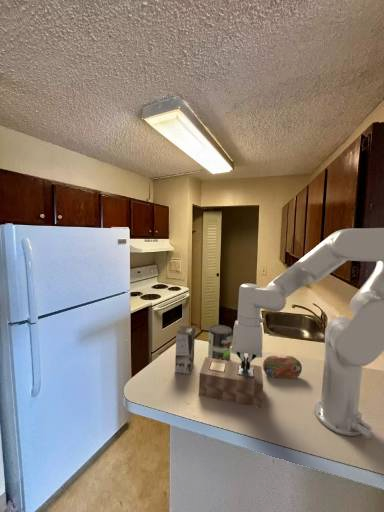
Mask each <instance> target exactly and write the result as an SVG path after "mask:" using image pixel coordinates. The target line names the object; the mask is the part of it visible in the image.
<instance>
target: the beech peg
mask: <svg viewBox="0 0 384 512" xmlns="http://www.w3.org/2000/svg"><path fill="white" fill-rule="evenodd" d="M210 370H211V371H217V372H222V373H225V364H222V363H216V362H212V363H211V367H210Z"/></svg>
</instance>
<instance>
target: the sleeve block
mask: <svg viewBox="0 0 384 512" xmlns="http://www.w3.org/2000/svg"><path fill="white" fill-rule="evenodd" d="M212 362H216V363H222V364H225V373H222V372H217V371H211V370H210V367H211V363H212ZM239 366H241V362H238V361H232V360H230V361H226V360H220V359H214V358H208V356H206V357H204V360H203V362H202V365H201V368H200V371H199V376H198V377H199V378H198V396H201V397H206V398H211V399H217V400H219V401H220V400H222V401H227V402H231V403H234V404H235V403H237V404H241V405H245V406H249V407H255V408H260V409H262V408H263V396H264V378H263V366H262V365H256V364H251V363H250V368H253V378H251V377H245V376H239V375H238V371H239ZM245 367H246V364H245Z"/></svg>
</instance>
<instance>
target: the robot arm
mask: <svg viewBox="0 0 384 512" xmlns="http://www.w3.org/2000/svg"><path fill="white" fill-rule="evenodd" d="M347 261H355V262H375V264H376V265H375V268H374V269H373V271H372V273H371V274H370V275H369V277H368V279H367V280H366V281H365V282H364V283H363V285H362V286H361V287H360V288H359V290H358V291H357V292H356V293H355V294H354V296H353V297H352V298H351V299H350V302H349V310H350V311H351V313H352V314H353V317H352V319H351V318H349V317H345V316H339V317H334V318H332V319H331V320H330V321H328V322H327V324H326V327H325V329H324V331H325V332H324V358H323V359H324V361H323V372H322V373H323V374H322V385H321V397H320V401H318V402H316V404H315V405H314V414H315V416H316V418H317V420H319V421H320V423H322V425H324V426H325V427H327V428H328V429H330V430H331V431H333V432H336V433H337V434H340V435H344V436H350V437H355V436H360V435H361V434H362V435H363V436H364V437H365V438H366V439H368V440H369V439H371V438H372V435H373V432H372V426H371V425H370V424H368V423H366V422H365V421H364V420H363V419H362V415H363V414H362V413H361V412H359V404H360V403H359V402H360V394H361V383H362V373H363V367H365V366H368V365H370V364H372V363H373V362H374V361H376V360H377V358H379V356H381V354H382V353H383V352H384V227H374V228H372V227H371V228H369V227H368V228H367V227H366V228H357V227H356V228H353V227H352V228H345V229H344V228H343V229H339V230H336V231H334V232H333V233H331V234H330V235H328V236H327V237H326V238H325V239H324V240H322V241H321V242H320V243H319V244H317V245H316V246H315V247H314V248H313V249H311V250H310V251H308V253H306V254H305V255H304V256H303V257H301V258H299V260H298V261H296V262H295V263H293V264H292V265H291V266H290V267H289V268H287V269H286V270H284V271H283V272H282V273H280V275H278V276H277V277H276V278H274V279H273V280H272V281H271V282H270V283H268V284H266V286H265V287H263V288H262V286H260V285H258V284H256V283H243V284H241V285H240V286H239V289H238V290H239V291H238V303H237V319H236V320H235V321H234V325H233V329H232V337H231V353H232V354H234V355H236V356H237V357H238V358H239V359H240V363H241V368H242V369H243V373H244V372H245V373H248V370H250V364H251V362H252V361H253V360H255V359H257V358H258V359H259V358H263V325H262V323H265V318H263V317H261V311H262V310H265V311H268V312H271V313H278V312H281V311H282V310H284V309H285V307H286V304H287V298H288V297H289V296H291V295H292V294H293V293H296V291H298V290H299V289H301V288H303V287H305V286H307V285H312V284H315V283H317V282H320V281H322V280H324V278H326V277H327V276H328V275H330V274H331V273H332V272H334V271H335V270H337V269H338V268H339V267H340V266H342V265H344V264H345V263H346V262H347ZM245 354H247V357H246V356H245ZM245 364H246V369H245Z"/></svg>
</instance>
